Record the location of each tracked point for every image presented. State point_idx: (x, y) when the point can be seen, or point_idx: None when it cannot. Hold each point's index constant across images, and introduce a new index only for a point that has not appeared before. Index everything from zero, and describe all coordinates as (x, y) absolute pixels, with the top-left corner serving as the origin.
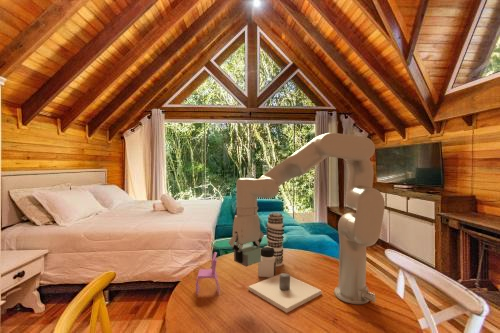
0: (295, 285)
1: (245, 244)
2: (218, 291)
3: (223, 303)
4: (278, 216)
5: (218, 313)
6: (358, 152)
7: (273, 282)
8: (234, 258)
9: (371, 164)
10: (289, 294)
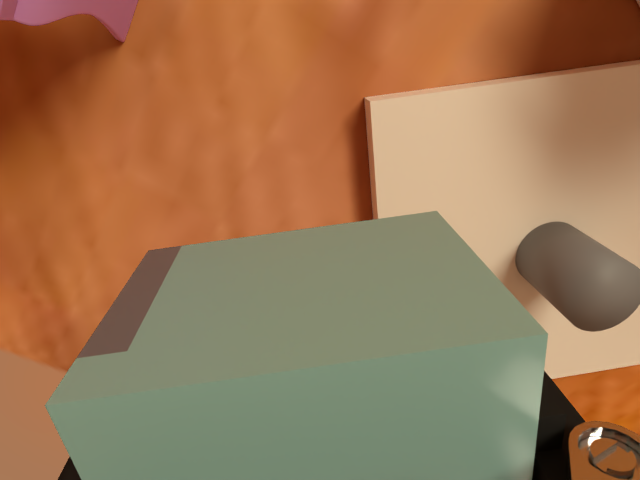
0: (628, 257)
1: (437, 354)
2: (112, 30)
3: (118, 170)
4: None
5: (54, 252)
6: None
7: (561, 150)
8: (138, 277)
9: None
10: None
